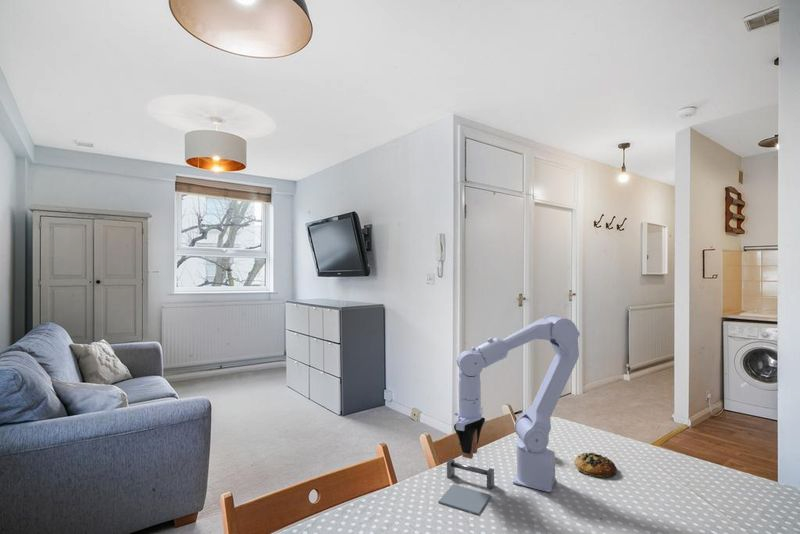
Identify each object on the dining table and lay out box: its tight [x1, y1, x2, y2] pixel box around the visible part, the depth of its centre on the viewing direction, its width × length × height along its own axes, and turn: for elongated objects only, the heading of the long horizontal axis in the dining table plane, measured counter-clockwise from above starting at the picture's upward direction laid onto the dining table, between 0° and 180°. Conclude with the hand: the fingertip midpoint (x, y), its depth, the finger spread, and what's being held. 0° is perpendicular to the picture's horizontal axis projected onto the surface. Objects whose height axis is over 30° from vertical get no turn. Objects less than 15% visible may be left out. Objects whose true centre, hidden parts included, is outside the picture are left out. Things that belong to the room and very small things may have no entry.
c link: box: [462, 429, 478, 460], centre depth 108 cm, size 2×5×6 cm, turn 150°
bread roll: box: [573, 452, 618, 478], centre depth 114 cm, size 11×11×5 cm
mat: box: [438, 483, 492, 516], centre depth 99 cm, size 10×9×1 cm
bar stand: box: [446, 458, 495, 490], centre depth 107 cm, size 12×2×4 cm, turn 60°
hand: (470, 449), depth 108 cm, fingers closed on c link, 5 cm apart
